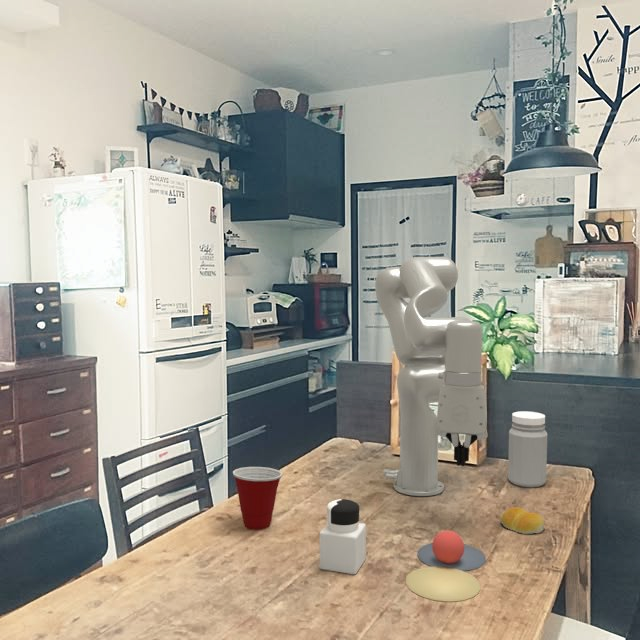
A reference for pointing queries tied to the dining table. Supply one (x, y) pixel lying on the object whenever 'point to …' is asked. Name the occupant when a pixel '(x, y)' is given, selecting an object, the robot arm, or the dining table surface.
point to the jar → (527, 449)
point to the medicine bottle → (342, 538)
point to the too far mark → (443, 584)
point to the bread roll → (522, 521)
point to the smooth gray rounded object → (467, 562)
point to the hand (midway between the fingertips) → (461, 463)
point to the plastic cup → (257, 495)
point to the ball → (448, 547)
